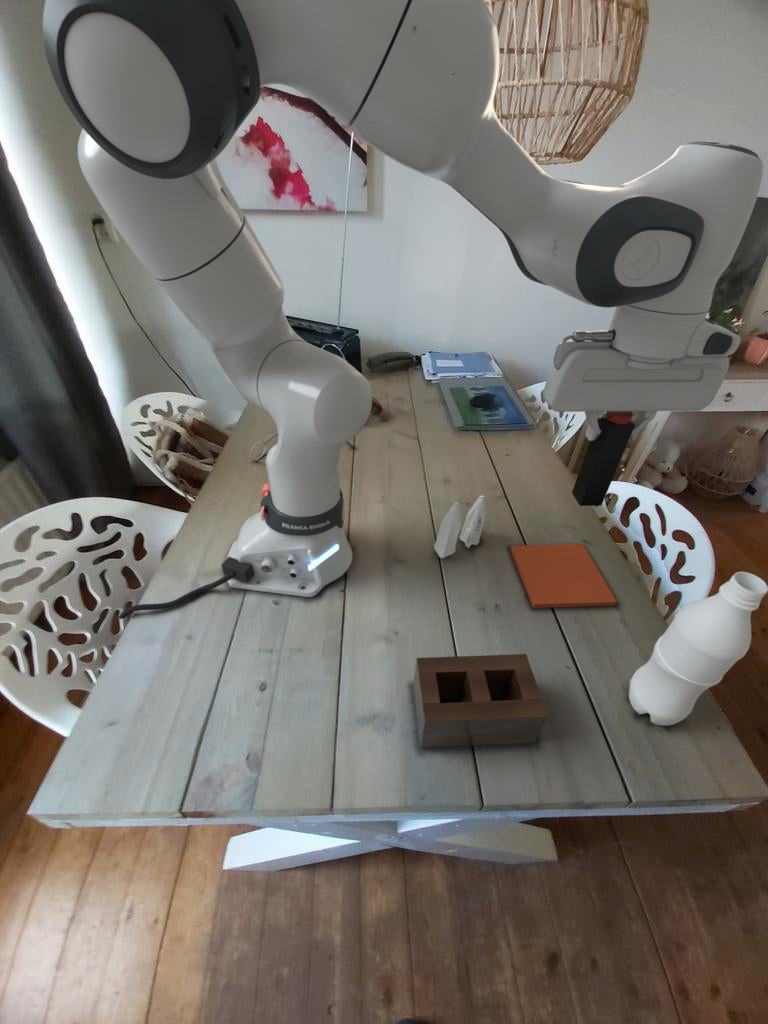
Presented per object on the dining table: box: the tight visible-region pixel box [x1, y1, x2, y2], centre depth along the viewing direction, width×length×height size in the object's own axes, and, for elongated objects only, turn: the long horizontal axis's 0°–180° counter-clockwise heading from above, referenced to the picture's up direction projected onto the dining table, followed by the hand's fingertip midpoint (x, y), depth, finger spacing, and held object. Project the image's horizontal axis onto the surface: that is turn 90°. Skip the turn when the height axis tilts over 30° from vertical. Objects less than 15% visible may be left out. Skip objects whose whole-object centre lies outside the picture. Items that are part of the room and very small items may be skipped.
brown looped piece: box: [368, 396, 385, 422], centre depth 122 cm, size 12×10×8 cm
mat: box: [509, 543, 618, 609], centre depth 78 cm, size 14×14×1 cm
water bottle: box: [628, 571, 768, 726], centre depth 52 cm, size 7×7×25 cm
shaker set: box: [433, 495, 487, 559], centre depth 80 cm, size 12×4×11 cm, turn 126°
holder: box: [412, 653, 549, 749], centre depth 57 cm, size 8×15×7 cm, turn 93°
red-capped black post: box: [571, 411, 635, 507], centre depth 60 cm, size 3×3×14 cm
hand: (609, 438), depth 58 cm, fingers closed on red-capped black post, 3 cm apart
